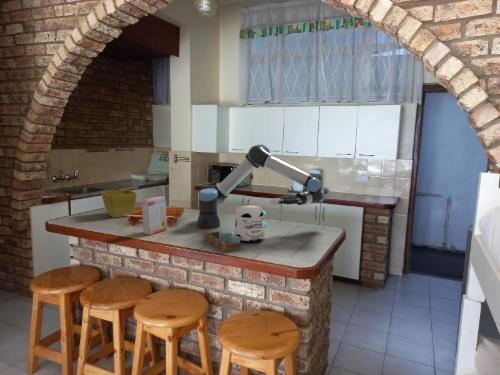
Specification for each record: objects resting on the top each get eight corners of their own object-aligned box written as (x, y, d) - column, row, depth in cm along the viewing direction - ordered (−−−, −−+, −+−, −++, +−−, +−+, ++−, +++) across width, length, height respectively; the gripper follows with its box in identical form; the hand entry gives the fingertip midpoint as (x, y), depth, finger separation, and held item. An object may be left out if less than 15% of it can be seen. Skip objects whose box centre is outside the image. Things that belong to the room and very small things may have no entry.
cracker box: (159, 228, 220) (158, 195, 217) (167, 230, 217) (166, 196, 214) (142, 234, 209) (141, 199, 205) (149, 235, 205) (148, 200, 202)
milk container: (255, 246, 189) (256, 213, 186) (228, 241, 197) (228, 209, 195) (269, 238, 204) (270, 207, 201) (243, 233, 212) (244, 204, 210)
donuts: (252, 213, 221) (248, 209, 231) (252, 228, 223) (248, 224, 232) (268, 212, 224) (263, 209, 233) (267, 227, 225) (263, 224, 235)
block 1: (220, 240, 199) (220, 232, 198) (227, 238, 202) (227, 231, 201) (224, 242, 195) (224, 234, 195) (231, 241, 198) (231, 233, 197)
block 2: (228, 244, 192) (228, 236, 191) (235, 243, 194) (236, 235, 193) (232, 246, 188) (232, 238, 187) (240, 245, 190) (240, 237, 190)
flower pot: (128, 211, 267) (127, 189, 264) (138, 216, 252) (137, 192, 250) (102, 214, 255) (100, 191, 252) (111, 219, 240) (109, 195, 238)
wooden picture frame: (203, 239, 199) (203, 232, 198) (218, 237, 204) (218, 229, 203) (224, 252, 179) (224, 243, 178) (240, 249, 184) (240, 241, 183)
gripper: (311, 206, 212) (280, 211, 200) (294, 202, 226) (264, 206, 213) (312, 194, 211) (280, 198, 199) (294, 190, 224) (264, 193, 212)
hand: (272, 202), depth 206 cm, fingers open, 3 cm apart
